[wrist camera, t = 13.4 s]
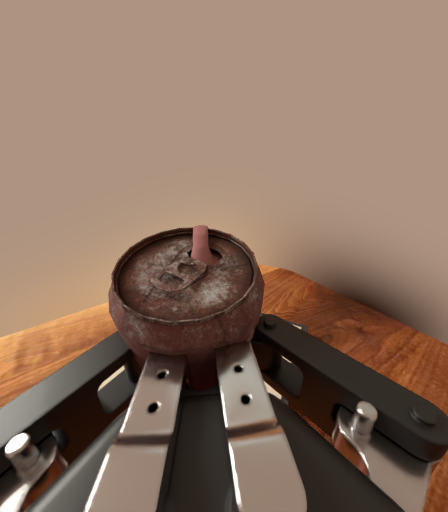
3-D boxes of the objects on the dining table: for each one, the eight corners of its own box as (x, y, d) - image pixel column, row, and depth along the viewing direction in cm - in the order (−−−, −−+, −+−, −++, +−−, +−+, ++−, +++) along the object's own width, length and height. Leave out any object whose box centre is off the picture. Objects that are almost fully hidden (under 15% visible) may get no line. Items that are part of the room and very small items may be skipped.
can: (238, 359, 20) (250, 217, 11) (249, 452, 15) (289, 323, 6) (168, 363, 20) (127, 220, 11) (156, 461, 15) (65, 336, 6)
